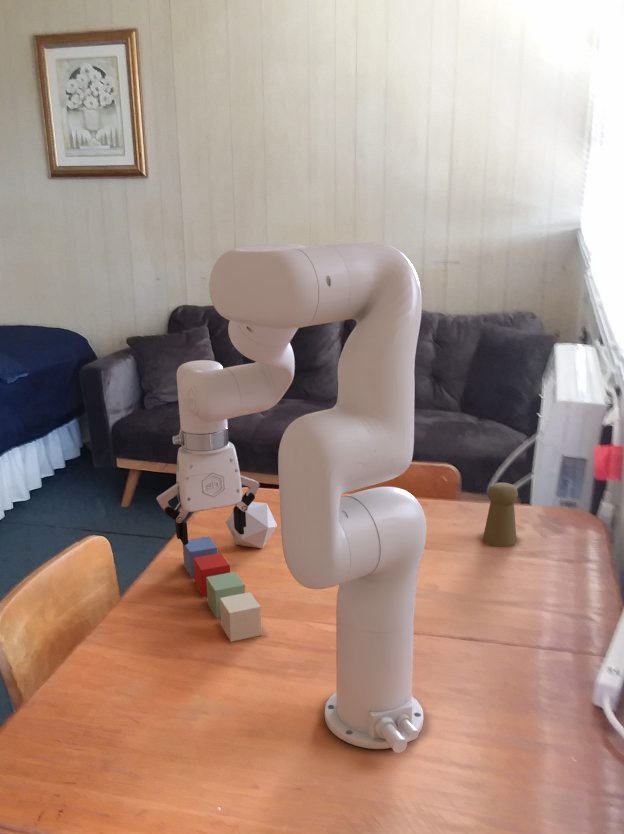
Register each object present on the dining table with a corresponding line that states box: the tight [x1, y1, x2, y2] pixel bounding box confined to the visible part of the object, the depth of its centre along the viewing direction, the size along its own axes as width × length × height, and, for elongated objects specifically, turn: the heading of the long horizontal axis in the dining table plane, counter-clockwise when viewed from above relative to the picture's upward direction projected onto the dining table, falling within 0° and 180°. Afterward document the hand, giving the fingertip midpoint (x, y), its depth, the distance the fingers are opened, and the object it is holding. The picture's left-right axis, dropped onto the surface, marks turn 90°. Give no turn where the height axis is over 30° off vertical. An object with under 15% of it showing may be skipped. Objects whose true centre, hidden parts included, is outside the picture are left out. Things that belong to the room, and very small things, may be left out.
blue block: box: [182, 535, 218, 578], centre depth 150 cm, size 5×5×5 cm
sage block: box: [206, 571, 246, 619], centre depth 136 cm, size 5×5×5 cm
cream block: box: [220, 591, 263, 643], centre depth 129 cm, size 5×5×5 cm
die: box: [225, 501, 278, 549], centre depth 158 cm, size 8×9×10 cm
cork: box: [482, 482, 519, 548], centre depth 155 cm, size 6×6×11 cm
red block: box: [193, 552, 231, 597], centre depth 143 cm, size 5×5×5 cm
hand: (211, 536), depth 140 cm, fingers open, 9 cm apart
